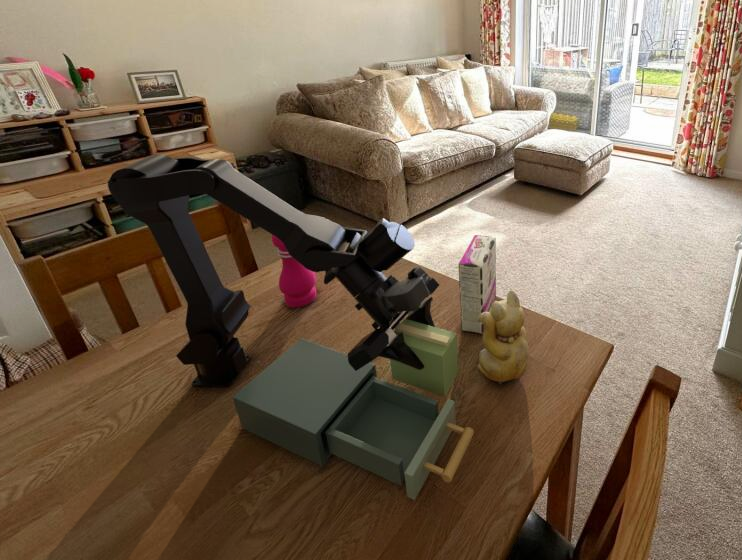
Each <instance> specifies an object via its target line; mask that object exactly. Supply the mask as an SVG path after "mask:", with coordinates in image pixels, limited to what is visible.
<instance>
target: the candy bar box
mask: <svg viewBox="0 0 742 560" xmlns="http://www.w3.org/2000/svg"><path fill="white" fill-rule="evenodd" d="M496 239H497V237H496V236H489V235H488V236H487V235H481V234H474V235H473V236H472V239H471V241H470V243H469V244H468V246H467V248H466V250H465V252H464V253H463V255H462V257H461V259H460V260H459V262H458V284H459V286H458V287H459V297H460V298H459V303H460V322H461V323H460V324H461V325H460V326H461V331H464V332H468V333H469V332H470V333H475V334H481V335H483V333H484V330H485V326H484V324H483V323H482V322H479V321H478V318H479V316H480V314H481V313H483V312H489V310H490V308H491V306H492V303H493V302H494V301H497V262H496V261H497V256H496V255H497V245H496V243H497V240H496ZM494 296H495V297H494Z"/></svg>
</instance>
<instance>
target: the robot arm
mask: <svg viewBox="0 0 742 560" xmlns="http://www.w3.org/2000/svg"><path fill="white" fill-rule="evenodd" d="M107 188H108V191H109V193H110V194H111V196H112V197H113V198H114V200H115V201H116V202H117V204H118V205H119V206H120V208H121V209H122V210H123V212H124V213H125V214H126V215H128V216H130V217H132V218H134V219H135V220H137V221H139V222H141V223H142V224H145V225H146V227H148V230H149V231H150V234H151V235H152V237H153V239H154V240H155V243H156V245H157V247H158V249H159V251H160V253H161V254H162V257H163V258H164V260H165V262H166V265H167V266H168V268H169V270H170V272H171V274H172V276H173V278H174V279H175V281H176V284H177V285H178V287H179V289H180V291H181V293H182V296H183V297H184V299H185V301H186V304H187V306H186V307H187V308H186V316H185V322H184V323H185V324H184V325H185V328H186V332H187V335H188V339H189V340H188V341H187V343H186V344H184V346H183V347H182V348H181V349H180V351H178V353H177V354H176V359H178V360H179V361H180V363H182V365H184V366H186V365H187V366H188V365H193V366H194V368H195V371H196V376H195V378H194V379H193V380H192V382H191V386H192V387H197V388H198V387H201V388H203V387H204V388H205V387H206V388H208V387H209V388H228V387H230V386H231V385H232V384H233V383H234V381H235V380H236V379H237V378H238V376H239V375H240V374H241V372H242V371H243V370H244V368H245V367H246V366H247V364H249V362H250V360H251V359H252V356H251V355H250V354H245V351H244V347H243V346H242V345H241V344H240V340H239V337H235V335H236V333H237V332H238V331H239V330H240V328H241V327H242V325H243V324H244V323H245V321H246V320H247V318H248V317H249V315H250V313H249V310H250V308H251V307H252V306H251V304H249V302H248V301H247V299H246V296H245V293H244V291H243V290H242V289H238V290H231V289H229V288H228V287H226V286H224V285H223V283H222V281H221V279H220V276H219V274H218V272H217V270H216V268H215V266H214V263H213V262H212V260H211V258H210V255H209V253H208V251H207V249H206V246H205V244H204V242H203V240H202V237H201V236H200V234H199V232H198V229H197V228H196V225H195V222H194V221H193V219H192V216H191V215H190V212H189V203H190V196H194V195H207V196H208V197H210V198H212V199H213V200H215V201H217V202H219V203H220V204H221V205H223V206H224V207H227V208H228V209H230V210H231V211H232V212H235V213H236V214H238V215H240V216H241V217H243V218H244V219H246V220H247V221H248V222H249V221H250V222H251V223H253V224H254V225H255V226H257V227H258V228H261V229H262V230H264V231H266V232H267V233H269V234H270V235H271V236H272V235H274V236H275V237H277V238H278V239H279V240H280V241H282V242H283V244H284V246H285V247H286V249H287V251H288V253H289V254H290V256H292V257H293V258H294V259H295V260H296V261H298V262H299V263H300V264H301V265H303V266H304V267H305V268H306V269H308V270H310V271H313V272H314V273H319V272H324V277H323V283H324V285H328V284H329V283H331V282H332V281H334V280H335V279H337V280H338V281H339V282H340V284H341V285H342V286H343V287H344V288H345V289H346V290H347V292H348V293H349V294H350V295H351V296H352V297H353V298H354V300H355V301H356V302H357V303H356V304H355V305H354V308H356V310H357V311H358V312H359V311H360V310H362V309H363V310H364V311H365V313H367V315H368V316H369V317H370V318H371V319H372V321H374V322H372V324H371V327H372V328H373V329H374V330H371V332H369V333H368V334H367V335H365V336H363V337H362V338H361V339H360V340H359V341H358V342H357V343H356V344H355V345H354V346H353V347H352V348H351V349H350V351H349V352H348V353H346V354H347V355H348V362H349V364H350V365H351V366H352V367H353V369H354V370H355V371H357V370H358V369H360V368H362V367H363V366H365V365H366V364H368V363H372V362H373V361H374V360H376V359H378V358H379V357H380V358H385V359H389V360H390V359H392V360H395V361H398V362H400V363H403V364H406V365H408V366H411V367H413V368H416V369H418V370H421V369H423V368H424V365H423V363H422V362H421V360H420V359H419V358H418V357H417V356H416V354H415V353H414V352H413V351H412V350H411V349H410V348H409V346H408V345H407V344H406V343H405V341H404V336H403V332H401V333H400V334H398V335H396V334H395V332H394V331H395V327H396V326H397V325H398V324H399V323H401V322H402V321H403V320H404V319H408V320H411V321H415V322H418V323H422V324H425V325H429V326H432V327H436V325H435V323H434V320H433V318H432V317H433V316H432V314H431V307H432V305H431V304H432V302H433V301H434V297H433V296H430V295H433V294H434V292H435V291H436V290H437V289H438V288H439V287H440V283H439V282H438V281H437V280H436V279H435V277H433V276H430V275H428V273H427V271H425V270H424V269H423V267H421V266H420V265H419V266H414V267H412V269H411V270H410V271H408V273H407V276H406V277H405V278H404V279H403V280H398V279H397V278H396V276H394V275H392V274H390V275H389V276H388V277H387V276H386V274H384V273H383V271H388V270H390V269H391V268H392V267H393V266H395V264H397V263H398V262H399V261H400V260H401V259H403V258H404V257H405V256H407V254H409V253H410V252H412V250H414V248H415V246H416V245H415V240H414V238H413V235H412V234H411V232H410V231H409V229H407V228H406V226H405V225H403V224H399V223H398V222H396V221H388V220H387V219H386V218H381V219H380V220H379V221H378V222H377V223H376V224H375V225H374V227H373V228H371V229H370V230H369V231H368V230H366V229H359V228H351V227H347V226H345V227H344V226H341V225H340V224H339V223H336V222H334V221H331V220H330V219H327V218H325V217H323V216H320V215H313V214H307V213H306V212H303V211H301V210H299V209H297V208H295V206H294V207H293V206H292V205H290V204H289V203H287V202H286V201H284V200H283V199H281V198H280V197H278V196H277V195H275V194H274V193H272V192H271V191H269V190H268V189H266V188H265V187H263V186H261V185H260V184H258V183H256V182H255V181H254V180H253V179H250V178H249V177H248V176H246V175H245V174H243V173H241V172H240V171H238V170H236V169H235V168H234V167H233V165H232V163H230V162H229V161H228V160H226V159H223V158H209V159H207V158H200V157H194V156H185V157H183V156H182V157H171V156H170V155H165V154H162V153H161V154H160V153H159V154H158V153H157V154H152V155H151V154H150V155H149V156H146V157H144V158H141V159H139V160H137V161H135V162H133V163H129V164H128V165H125V166H123V167H121V168H119V169H117V170H116V171H115V170H114V172H113V173H112V174H111V176H110V178H109V179H107ZM346 247H347V248H346Z"/></svg>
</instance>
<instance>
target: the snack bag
mask: <svg viewBox="0 0 742 560" xmlns="http://www.w3.org/2000/svg"><path fill="white" fill-rule="evenodd" d="M393 331H394V332H395V334H396V335H398V334H400V333H401V332H403V336H404V341H405V343H406V344H407V345H408V346H409V348H410V349H411V350H412V351H413V352H414V353H415V354H416V356H417V357H418V358H419V359H420V360H421V362H422V363H423V365H424V368H423V369H421V370H418V369H416V368H413V367H411V366H408V365H406V364H403V363H400V362H398V361H395V360H392V359H389V362H390V371H391V378H392V380H394V381H397V382H400V383H403V384H406V385H409V386H412V387H415V388H418V389H421V390H422V391H423V390H424V391H426V392H429V393H432V394H435V395H437V396H441V397H447V395H448V392H449V391H450V389H451V387H452V385H453V384H454V381H455V380H456V378H457V376H458V375H459V358H458V357H459V356H458V335H457V334H458V333H456V332H452V331H449V330H446V329H442V328H439V327H436V326H435V327H432V326H429V325H425V324H422V323H418V322H415V321H411V320H408V319H406V318H403V319H402V320H401V322H400V323H399V324H398V325H397V326H396V327H395V328H394V330H393Z"/></svg>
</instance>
